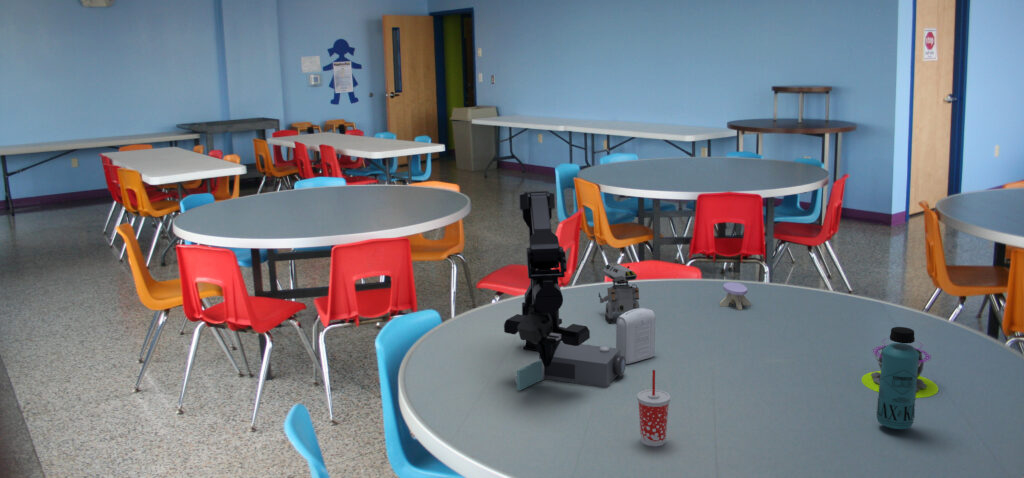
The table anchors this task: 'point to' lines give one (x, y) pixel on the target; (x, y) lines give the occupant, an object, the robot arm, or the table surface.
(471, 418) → the table surface
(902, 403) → the beverage bottle
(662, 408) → the beverage cup
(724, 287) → the toy table
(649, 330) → the photo printer
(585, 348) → the box
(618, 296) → the figurine
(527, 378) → the side door
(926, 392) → the toy cauldron
